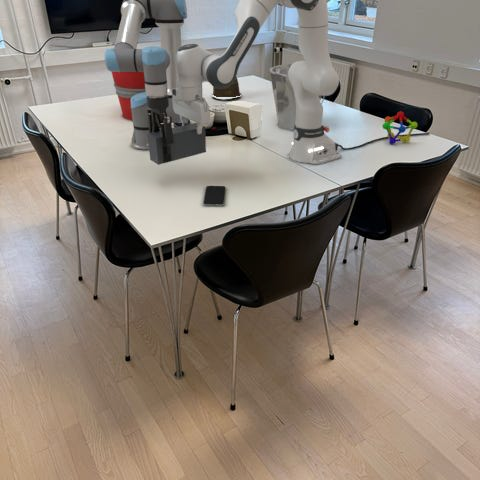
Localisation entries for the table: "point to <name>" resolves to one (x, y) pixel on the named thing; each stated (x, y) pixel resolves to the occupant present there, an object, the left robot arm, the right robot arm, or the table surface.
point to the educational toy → (398, 128)
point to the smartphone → (214, 196)
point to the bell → (228, 90)
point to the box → (178, 143)
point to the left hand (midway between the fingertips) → (163, 158)
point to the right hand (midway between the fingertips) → (191, 130)
